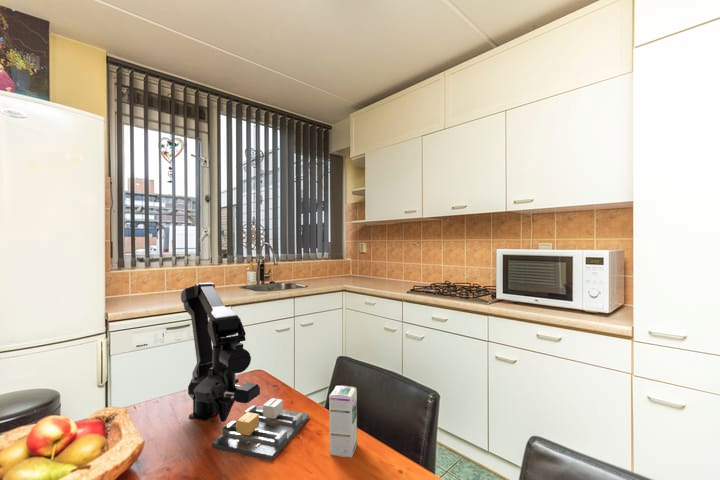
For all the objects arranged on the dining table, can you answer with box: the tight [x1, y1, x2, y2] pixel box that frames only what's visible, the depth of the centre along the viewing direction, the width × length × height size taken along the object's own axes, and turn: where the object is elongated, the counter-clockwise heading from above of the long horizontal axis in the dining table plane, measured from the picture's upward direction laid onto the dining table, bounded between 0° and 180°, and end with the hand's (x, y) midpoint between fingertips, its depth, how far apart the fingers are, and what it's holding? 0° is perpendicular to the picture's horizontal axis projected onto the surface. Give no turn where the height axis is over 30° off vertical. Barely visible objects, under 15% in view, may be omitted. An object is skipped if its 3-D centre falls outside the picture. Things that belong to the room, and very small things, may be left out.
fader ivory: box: [262, 397, 284, 419], centre depth 93 cm, size 4×4×5 cm
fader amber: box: [236, 412, 259, 436], centre depth 85 cm, size 4×4×5 cm
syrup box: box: [328, 385, 358, 458], centre depth 81 cm, size 6×6×14 cm
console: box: [211, 404, 310, 462], centre depth 89 cm, size 17×20×3 cm
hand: (223, 421), depth 87 cm, fingers closed
